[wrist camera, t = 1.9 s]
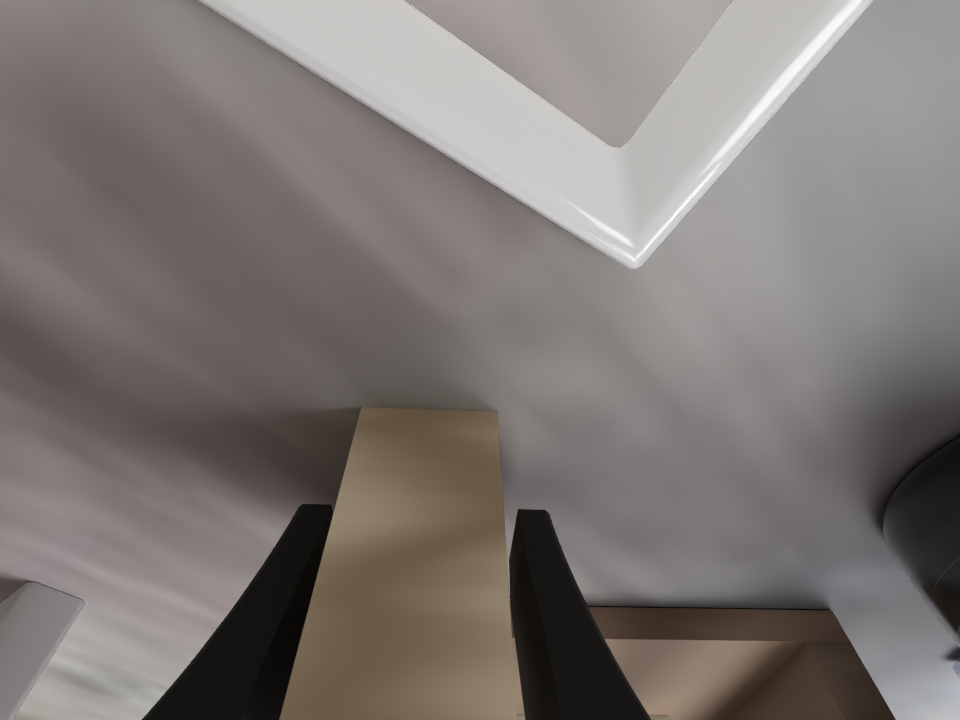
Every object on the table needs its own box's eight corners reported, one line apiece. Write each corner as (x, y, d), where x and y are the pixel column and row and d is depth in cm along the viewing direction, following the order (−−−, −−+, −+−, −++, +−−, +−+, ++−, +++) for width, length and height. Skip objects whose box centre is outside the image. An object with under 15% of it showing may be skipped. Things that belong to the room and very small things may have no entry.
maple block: (497, 411, 11) (519, 748, 6) (483, 540, 14) (489, 836, 9) (361, 406, 11) (271, 747, 6) (376, 538, 14) (325, 837, 9)
